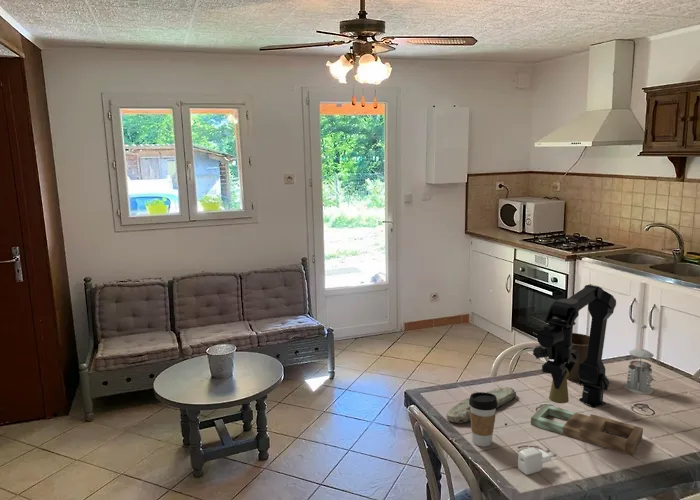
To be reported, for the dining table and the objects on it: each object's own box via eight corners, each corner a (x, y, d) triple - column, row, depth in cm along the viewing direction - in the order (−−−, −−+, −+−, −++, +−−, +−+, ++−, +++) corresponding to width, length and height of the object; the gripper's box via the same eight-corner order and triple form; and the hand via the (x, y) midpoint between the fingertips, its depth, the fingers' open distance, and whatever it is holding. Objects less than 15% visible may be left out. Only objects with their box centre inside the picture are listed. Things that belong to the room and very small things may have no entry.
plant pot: (548, 369, 224) (550, 332, 221) (584, 369, 223) (587, 332, 220) (560, 385, 209) (563, 345, 206) (600, 385, 209) (603, 345, 206)
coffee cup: (490, 451, 163) (492, 404, 160) (463, 444, 167) (465, 398, 165) (499, 439, 170) (501, 393, 167) (473, 432, 174) (474, 388, 172)
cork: (568, 396, 180) (570, 364, 178) (569, 404, 174) (571, 371, 172) (548, 394, 182) (550, 362, 180) (549, 402, 176) (550, 369, 174)
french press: (654, 386, 207) (660, 323, 202) (651, 398, 197) (657, 331, 193) (625, 381, 212) (630, 319, 208) (621, 392, 202) (626, 327, 198)
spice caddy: (642, 438, 169) (642, 428, 169) (632, 455, 160) (633, 444, 159) (544, 410, 188) (544, 401, 188) (530, 424, 179) (531, 414, 178)
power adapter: (545, 459, 158) (547, 440, 157) (558, 467, 154) (559, 448, 153) (515, 468, 154) (516, 449, 153) (527, 477, 150) (528, 457, 149)
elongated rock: (523, 402, 198) (499, 394, 206) (523, 388, 198) (500, 381, 205) (463, 428, 176) (439, 419, 183) (463, 412, 175) (439, 404, 183)
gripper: (546, 328, 187) (544, 371, 189) (526, 343, 172) (524, 389, 175) (580, 334, 180) (577, 379, 183) (562, 350, 165) (559, 398, 168)
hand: (559, 386), depth 177 cm, fingers closed on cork, 4 cm apart
